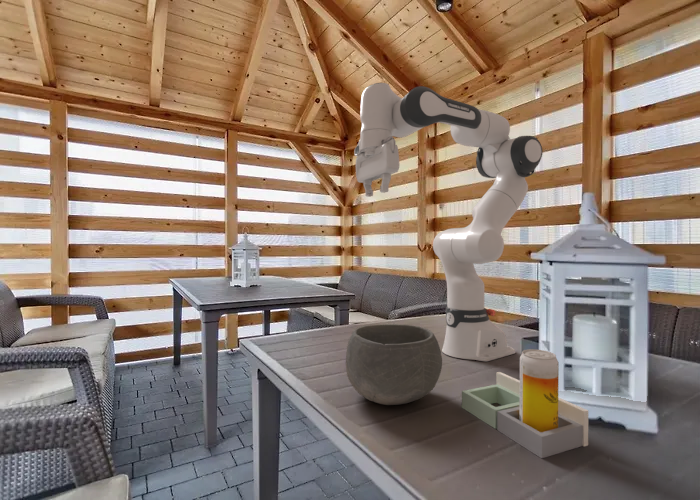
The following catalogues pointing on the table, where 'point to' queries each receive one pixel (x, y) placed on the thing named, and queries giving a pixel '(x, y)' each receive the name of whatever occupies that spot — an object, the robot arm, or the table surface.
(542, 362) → the beer can
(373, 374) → the bowl
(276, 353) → the table surface
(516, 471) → the table surface
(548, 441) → the holder board
